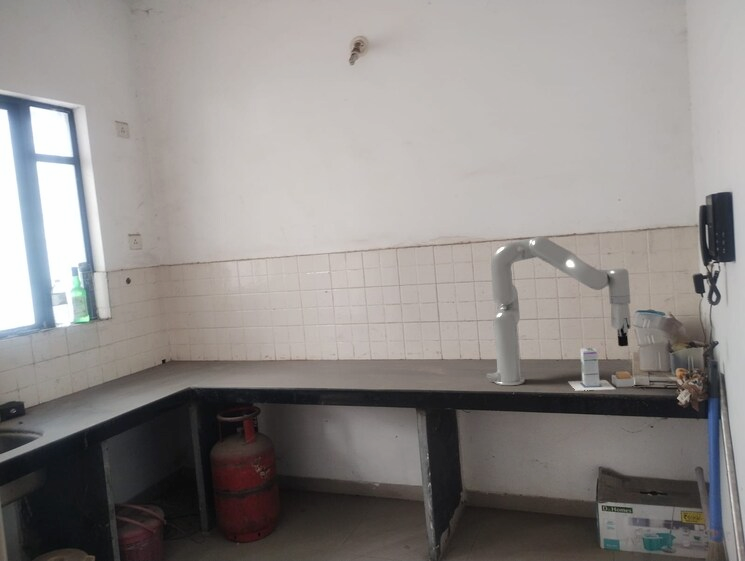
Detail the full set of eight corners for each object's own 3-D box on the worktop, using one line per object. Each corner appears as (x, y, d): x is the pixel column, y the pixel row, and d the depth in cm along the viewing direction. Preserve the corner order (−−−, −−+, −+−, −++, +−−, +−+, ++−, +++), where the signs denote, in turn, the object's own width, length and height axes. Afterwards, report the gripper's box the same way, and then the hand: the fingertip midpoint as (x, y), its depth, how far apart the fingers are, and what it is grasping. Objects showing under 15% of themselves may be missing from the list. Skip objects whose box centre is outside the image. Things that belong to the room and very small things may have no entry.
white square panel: (575, 391, 218) (575, 390, 218) (568, 382, 232) (568, 381, 232) (615, 389, 216) (615, 388, 216) (605, 380, 230) (605, 379, 230)
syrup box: (600, 386, 221) (598, 350, 220) (584, 386, 222) (582, 351, 221) (596, 382, 227) (594, 347, 226) (581, 383, 228) (579, 348, 227)
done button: (619, 380, 221) (619, 374, 221) (616, 377, 225) (616, 371, 225) (630, 380, 220) (630, 373, 220) (627, 377, 224) (627, 371, 224)
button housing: (617, 387, 220) (616, 379, 219) (612, 382, 227) (611, 375, 226) (635, 386, 219) (635, 378, 219) (630, 381, 226) (629, 374, 225)
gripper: (604, 298, 228) (608, 343, 229) (615, 302, 214) (619, 350, 215) (623, 297, 227) (627, 341, 228) (636, 301, 213) (639, 348, 214)
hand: (623, 345), depth 221 cm, fingers closed
